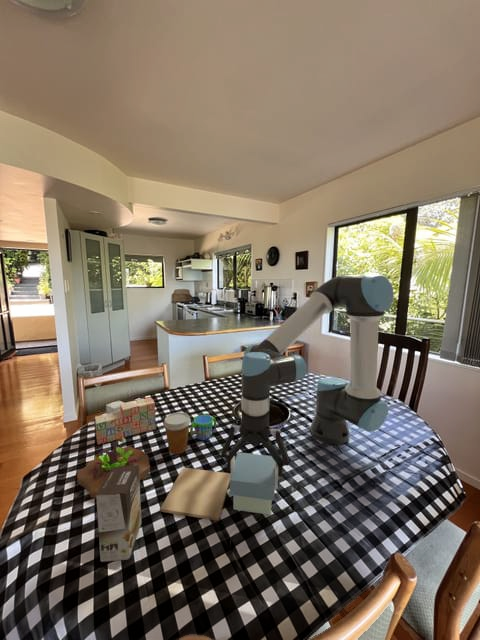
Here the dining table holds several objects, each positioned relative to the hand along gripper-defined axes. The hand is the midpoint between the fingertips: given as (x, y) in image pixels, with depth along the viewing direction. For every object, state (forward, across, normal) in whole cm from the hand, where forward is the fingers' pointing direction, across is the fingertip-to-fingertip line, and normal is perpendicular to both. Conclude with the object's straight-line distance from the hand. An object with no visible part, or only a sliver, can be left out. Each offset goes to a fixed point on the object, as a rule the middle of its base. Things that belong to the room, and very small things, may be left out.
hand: (254, 482), depth 74 cm
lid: (0, 0, 0) cm, 0 cm away
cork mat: (+5, +16, +1) cm, 17 cm away
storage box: (+5, 0, 0) cm, 5 cm away
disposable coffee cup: (+5, +30, -17) cm, 35 cm away
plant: (+5, +44, -2) cm, 45 cm away
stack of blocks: (+5, +54, -22) cm, 59 cm away
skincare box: (+5, +65, -32) cm, 73 cm away
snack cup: (+5, +23, -26) cm, 35 cm away
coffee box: (+5, +29, +18) cm, 34 cm away
